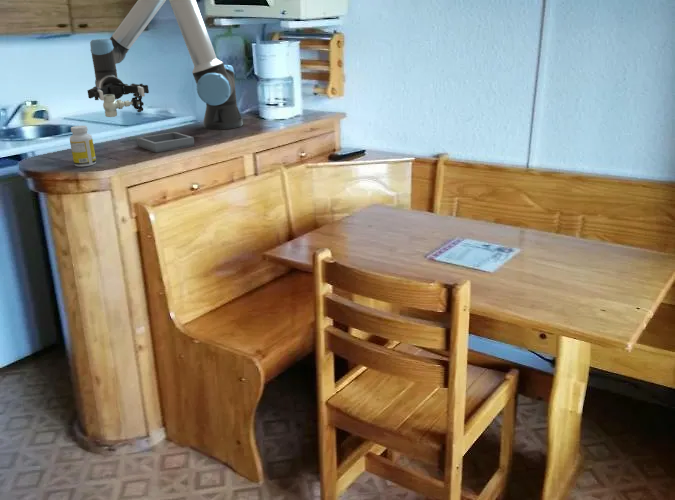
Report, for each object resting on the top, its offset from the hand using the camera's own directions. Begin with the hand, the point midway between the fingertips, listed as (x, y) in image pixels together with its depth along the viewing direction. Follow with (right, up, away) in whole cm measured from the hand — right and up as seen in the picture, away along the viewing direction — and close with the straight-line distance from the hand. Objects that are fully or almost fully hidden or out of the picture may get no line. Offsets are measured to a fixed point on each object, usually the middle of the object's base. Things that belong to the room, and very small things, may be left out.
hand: (122, 94), depth 210 cm
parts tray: (+10, -14, +14) cm, 23 cm away
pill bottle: (-9, -24, -8) cm, 27 cm away
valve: (-1, -6, +4) cm, 7 cm away
